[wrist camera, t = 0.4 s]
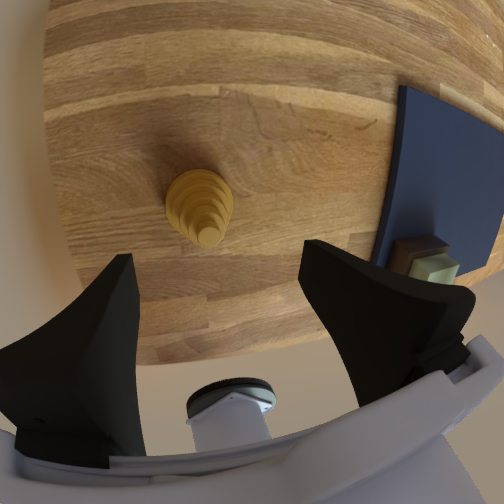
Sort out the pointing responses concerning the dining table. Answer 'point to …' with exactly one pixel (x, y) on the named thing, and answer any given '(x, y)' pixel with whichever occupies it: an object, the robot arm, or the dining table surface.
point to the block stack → (423, 259)
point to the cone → (200, 206)
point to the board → (443, 181)
